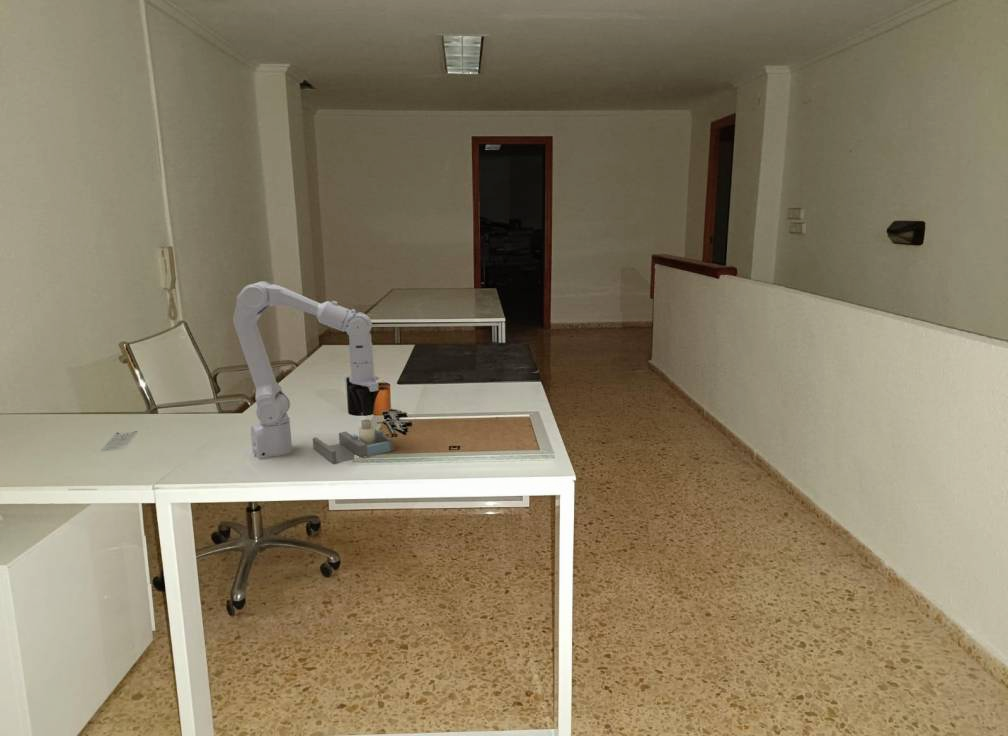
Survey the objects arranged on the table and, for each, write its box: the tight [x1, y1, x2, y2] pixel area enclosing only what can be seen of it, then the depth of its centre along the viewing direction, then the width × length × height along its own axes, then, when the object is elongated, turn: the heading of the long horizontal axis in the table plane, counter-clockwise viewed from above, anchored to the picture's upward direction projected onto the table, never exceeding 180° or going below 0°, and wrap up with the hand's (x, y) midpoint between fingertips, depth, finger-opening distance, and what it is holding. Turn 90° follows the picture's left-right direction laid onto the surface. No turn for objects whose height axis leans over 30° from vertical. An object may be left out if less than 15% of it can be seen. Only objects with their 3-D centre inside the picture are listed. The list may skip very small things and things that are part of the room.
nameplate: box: [376, 408, 413, 436], centre depth 202 cm, size 28×2×10 cm
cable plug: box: [358, 418, 375, 445], centre depth 178 cm, size 4×4×7 cm
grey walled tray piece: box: [312, 428, 394, 465], centre depth 176 cm, size 16×14×5 cm
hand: (365, 413), depth 177 cm, fingers open, 3 cm apart
